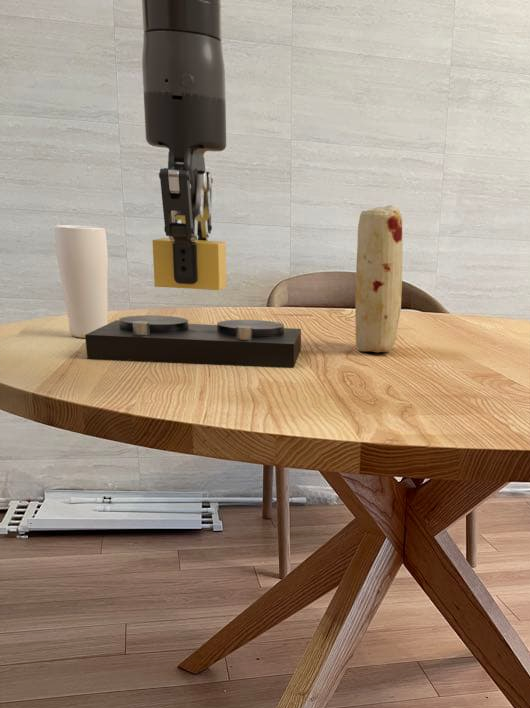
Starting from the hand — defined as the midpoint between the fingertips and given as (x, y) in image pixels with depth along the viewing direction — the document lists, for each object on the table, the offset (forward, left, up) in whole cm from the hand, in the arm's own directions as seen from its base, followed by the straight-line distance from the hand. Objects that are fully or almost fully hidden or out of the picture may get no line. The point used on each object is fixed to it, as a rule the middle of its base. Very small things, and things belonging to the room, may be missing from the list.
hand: (191, 280), depth 84 cm
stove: (-4, +25, -12) cm, 28 cm away
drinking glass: (-22, +36, -12) cm, 44 cm away
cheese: (0, 0, -1) cm, 1 cm away
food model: (+20, +34, -12) cm, 41 cm away
